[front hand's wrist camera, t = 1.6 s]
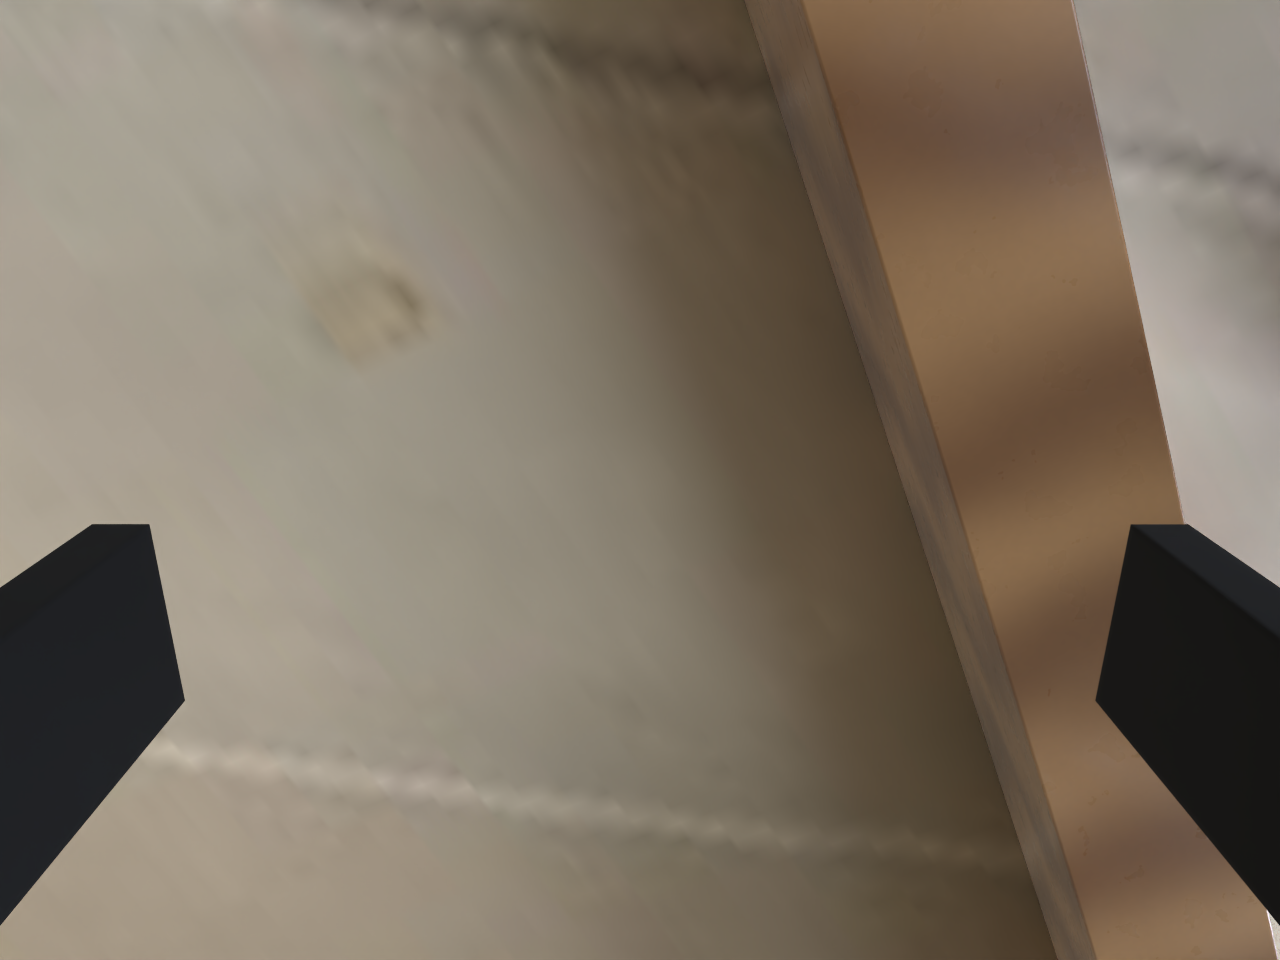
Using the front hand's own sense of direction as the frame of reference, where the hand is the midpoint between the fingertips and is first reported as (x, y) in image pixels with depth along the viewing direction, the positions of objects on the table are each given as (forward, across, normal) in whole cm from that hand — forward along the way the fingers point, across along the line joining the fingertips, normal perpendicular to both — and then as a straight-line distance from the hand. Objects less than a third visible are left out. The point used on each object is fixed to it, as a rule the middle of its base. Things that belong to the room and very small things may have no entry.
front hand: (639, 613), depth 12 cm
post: (+19, +16, -15) cm, 29 cm away
